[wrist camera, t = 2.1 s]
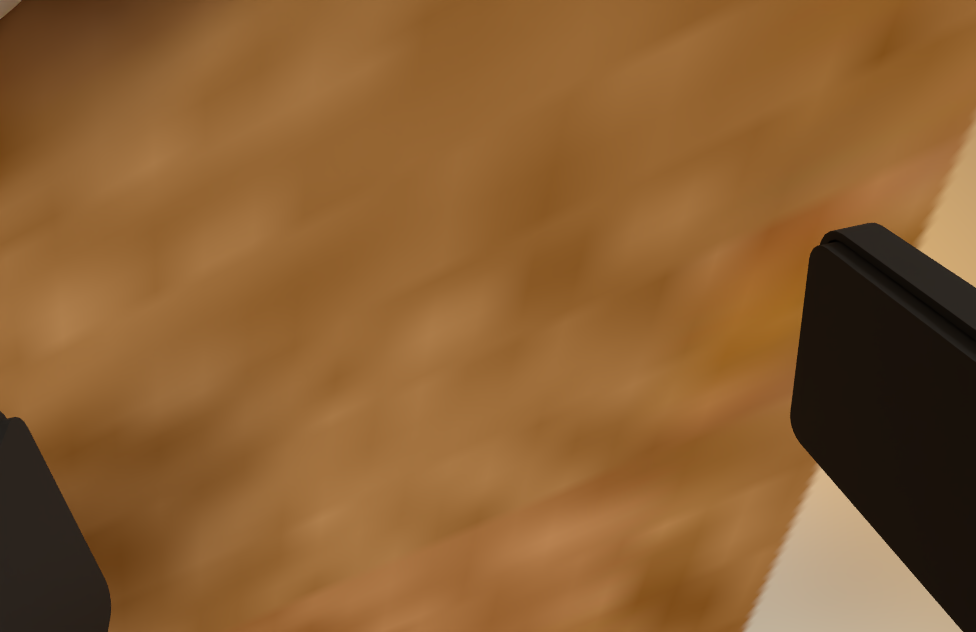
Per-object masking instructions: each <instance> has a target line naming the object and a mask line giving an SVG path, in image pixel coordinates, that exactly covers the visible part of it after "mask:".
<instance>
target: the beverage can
mask: <svg viewBox="0 0 976 632" xmlns="http://www.w3.org/2000/svg"><path fill="white" fill-rule="evenodd" d="M21 1H22V0H0V19H1V18H2V17H3V16H5V15H6V14H7V13H8V12H10V11H11V10H12V9H13V8H14V7H15V6H17V5H18V4H19V3H20V2H21Z"/></svg>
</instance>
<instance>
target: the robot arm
mask: <svg viewBox="0 0 976 632" xmlns="http://www.w3.org/2000/svg"><path fill="white" fill-rule="evenodd" d="M790 419H791V425H792V428H793V432H794V434H795V436H796V438H797V439H798V441H799V442H800V444H801V445H802V446H803V447H804V448H805V449H806V451H807V452H808V453H809V454H810V455H811V456H812V458H813V459H814V460H815V461H816V462H817V463H818V464H819V466H820V467H821V468H822V469H823V470H824V471H825V473H826V474H827V475H828V476H829V477H830V478H831V479H832V480H833V482H834V483H835V484H836V485H837V486H838V488H839V489H840V490H841V491H842V492H843V493H844V494H845V496H846V497H847V498H848V499H849V500H850V501H851V503H852V504H853V505H854V506H855V507H856V508H857V510H858V511H859V512H860V513H861V514H862V515H863V516H864V518H865V519H866V520H867V521H868V522H869V523H870V525H871V526H872V527H873V528H874V529H875V530H876V532H877V533H878V534H879V535H880V536H881V537H882V539H883V540H884V541H885V542H886V543H887V544H888V545H889V547H890V548H891V549H892V550H893V551H894V552H895V554H896V555H897V556H898V557H899V558H900V559H901V561H902V562H903V563H904V564H905V565H906V566H907V567H908V569H909V570H910V571H911V572H912V573H913V574H914V576H915V577H916V578H917V579H918V580H919V581H920V583H921V584H922V585H923V586H924V587H925V588H926V589H927V591H928V592H929V593H930V594H931V595H932V596H933V598H934V599H935V600H936V601H937V602H938V603H939V604H940V605H941V607H942V608H943V609H944V610H945V611H946V613H947V614H948V615H949V616H950V617H951V618H952V619H953V620H954V622H955V623H956V624H957V625H958V626H959V627H960V629H961V630H962V631H963V632H976V288H975V287H973V286H972V285H970V284H969V283H968V282H966V281H965V280H963V279H962V278H960V277H959V276H957V275H955V274H954V273H953V272H951V271H949V270H948V269H946V268H945V267H943V266H942V265H940V264H939V263H937V262H936V261H934V260H933V259H931V258H930V257H928V256H927V255H925V254H924V253H922V252H921V251H919V250H918V249H916V248H915V247H913V246H912V245H910V244H909V243H907V242H906V241H904V240H903V239H901V238H900V237H898V236H897V235H895V234H894V233H892V232H891V231H889V230H888V229H886V228H885V227H883V226H881V225H879V224H877V223H867V224H862V225H858V226H853V227H848V228H843V229H839V230H834V231H830V232H828V233H827V234H825V235H824V237H823V239H822V240H821V243H820V245H819V246H816V247H815V248H813V250H812V252H811V254H810V258H809V265H808V274H807V282H806V290H805V298H804V306H803V314H802V322H801V331H800V339H799V347H798V355H797V363H796V371H795V379H794V388H793V396H792V404H791V412H790ZM110 615H111V599H110V593H109V589H108V585H107V583H106V580H105V578H104V576H103V574H102V572H101V570H100V568H99V566H98V565H97V563H96V561H95V559H94V557H93V555H92V553H91V551H90V549H89V547H88V545H87V543H86V541H85V539H84V537H83V535H82V533H81V531H80V529H79V527H78V525H77V523H76V521H75V519H74V517H73V515H72V513H71V511H70V510H69V508H68V506H67V504H66V502H65V500H64V498H63V496H62V494H61V492H60V490H59V488H58V486H57V484H56V482H55V480H54V478H53V476H52V474H51V472H50V470H49V468H48V466H47V464H46V462H45V460H44V458H43V456H42V455H41V453H40V451H39V449H38V447H37V445H36V443H35V441H34V439H33V437H32V435H31V433H30V431H29V429H28V427H27V426H26V424H25V422H24V421H23V420H22V419H20V418H18V417H13V418H8V419H7V418H6V417H5V415H4V414H3V413H2V412H0V632H108V627H109V622H110Z"/></svg>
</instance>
